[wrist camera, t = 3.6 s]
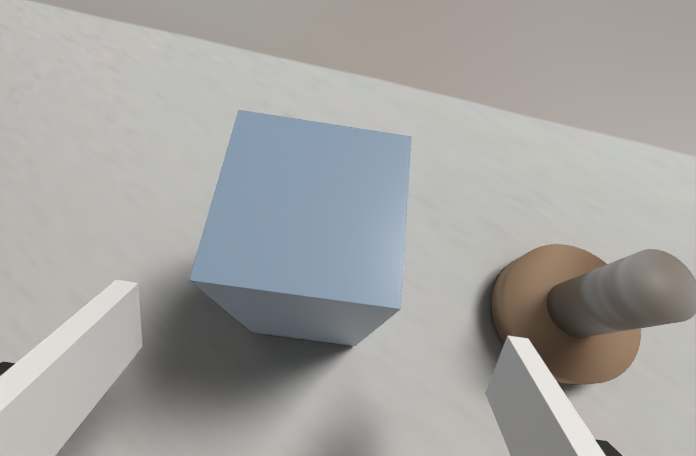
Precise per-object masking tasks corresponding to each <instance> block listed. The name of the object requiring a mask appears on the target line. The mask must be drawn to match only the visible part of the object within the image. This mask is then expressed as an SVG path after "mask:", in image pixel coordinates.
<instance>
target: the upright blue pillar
mask: <svg viewBox="0 0 696 456" xmlns="http://www.w3.org/2000/svg"><path fill="white" fill-rule="evenodd" d="M410 150H411V136H404V135H398V134H392V133H385V132H379V131H372V130H366V129H359V128H353V127H346V126H340V125H333V124H327V123H320V122H314V121H307V120H301V119H295V118H288V117H282V116H275V115H269V114H262V113H256V112H249V111H243V110H238V114H237V117H236V121H235V124H234V127H233V131H232V134H231V138H230V141H229V145H228V148H227V151H226V155H225V158H224V162H223V165H222V169H221V172H220V176H219V179H218V182H217V186H216V189H215V193H214V196H213V200H212V203H211V207H210V210H209V213H208V217H207V220H206V224H205V227H204V231H203V234H202V238H201V241H200V244H199V248H198V251H197V255H196V258H195V262H194V265H193V269H192V272H191V275H190V279H189V280H190V281H191V282H192V283H193V284H194V285H195V286H197V287H198V288H199V289H200V290H201V291H203V292H204V293H205V294H206V295H207V296H209V297H210V298H211V299H212V300H213V301H215V302H216V303H217V304H218V305H219V306H221V307H222V308H223V309H224V310H225V311H227V312H228V313H229V314H230V315H231V316H233V317H234V318H235V319H236V320H237V321H239V322H240V323H241V324H242V325H243V326H245V327H246V328H247V329H248V330H249V331H251V332H252V333H259V334H267V335H274V336H282V337H290V338H297V339H305V340H313V341H320V342H328V343H336V344H343V345H351V346H356V345H357V344H358V343H359V342H361V341H362V340H363V339H364V338H366V337H367V336H368V335H369V334H371V333H372V332H373V331H374V330H375V329H377V328H378V327H379V326H380V325H382V324H383V323H384V322H385V321H387V320H388V319H389V318H390V317H392V316H393V315H394V314H395V313H396V312H398V311H399V310H400V309H401V299H402V283H403V266H404V250H405V233H406V217H407V200H408V183H409V167H410Z"/></svg>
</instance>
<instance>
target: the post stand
mask: <svg viewBox="0 0 696 456" xmlns="http://www.w3.org/2000/svg"><path fill="white" fill-rule="evenodd" d="M491 308H492V316H493V321H494V325H495V328H496V330H497V333H498V335H499V337H500V339H501V341H502V343H503V344H504V343H505V341H506V338H507V336H514V337H521V338H528V339H529V340H530V342H531V343H532V345H533V346H534V348H535V349H536V351H537V352H538V354H539V356H540V357H541V359H542V360H543V362H544V363H545V365H546V366H547V368H548V369H549V371H550V372H551V374H552V375H553V377H554V378H555V380H556V381H557V383H567V384H594V383H602V382H606V381H610V380H612V379H614V378H616V377H618V376H619V375H621V374H622V373H623V372H624V371H625V370H626V369H627V368H628V367H629V366H630V365H631V363H632V362H633V361H634V359H635V357H636V354H637V352H638V349H639V345H640V339H641V328H645V327H651V326H657V325H664V324H670V323H676V322H682V321H686V320H688V319H690V318H691V317H693V316H694V315H695V313H696V280H695V278H694V276H693V275H692V273H691V272H690V270H689V269H688V268H687V267H686V266H685V265H684V264H683V263H682V262H681V261H680V260H678V259H677V258H676V257H674V256H672V255H671V254H669V253H666V252H664V251H661V250H655V249H647V250H643V251H640V252H638V253H635V254H633V255H630V256H628V257H625V258H623V259H620V260H617V261H615V262H612V263H610V264H606V263H605V262H604V261H602V260H601V259H600V258H598V257H596V256H595V255H593V254H591V253H589V252H587V251H585V250H583V249H580V248H577V247H574V246H569V245H561V244H553V245H546V246H541V247H538V248H536V249H534V250H532V251H530V252H528V253H526V254H525V255H523V256H521V257H520V258H518V259H516V260H515V261H513V262H512V263H510V264H509V265H508V266H507V267H506V268H505V269H504V270H503V271H502V272H501V274H500V275H499V276H498V278H497V280H496V282H495V285H494V288H493V293H492V301H491Z"/></svg>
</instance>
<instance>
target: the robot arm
mask: <svg viewBox="0 0 696 456" xmlns="http://www.w3.org/2000/svg"><path fill="white" fill-rule="evenodd" d="M142 347H143V345H142V330H141V315H140V299H139V284H138V283H135V282H128V281H121V280H115V281H114V282H113V283H112V284H110V285H109V286H108V287H107V288H106V289H104V290H103V291H102V292H101V293H100V294H98V295H97V296H96V297H95V298H94V299H92V300H91V301H90V302H89V303H88V304H86V305H85V306H84V307H83V308H82V309H80V310H79V311H78V312H77V313H76V314H74V315H73V316H72V317H71V318H70V319H68V320H67V321H66V322H65V323H64V324H62V325H61V326H60V327H59V328H58V329H56V330H55V331H54V332H53V333H52V334H50V335H49V336H48V337H47V338H46V339H44V340H43V341H42V342H41V343H40V344H38V345H37V346H36V347H35V348H34V349H32V350H31V351H30V352H29V353H28V354H26V355H25V356H24V357H23V358H22V359H20V360H19V361H18V362H17V363H9V362H1V363H0V456H55V455H56V454H57V453H58V452H59V450H60V449H61V448H62V447H63V445H64V444H65V443H66V442H67V440H68V439H69V438H70V437H71V435H72V434H73V433H74V432H75V430H76V429H77V428H78V427H79V425H80V424H81V423H82V422H83V420H84V419H85V418H86V417H87V415H88V414H89V413H90V412H91V410H92V409H93V408H94V407H95V405H96V404H97V403H98V402H99V400H100V399H101V398H102V397H103V395H104V394H105V393H106V392H107V390H108V389H109V388H110V387H111V385H112V384H113V383H114V382H115V380H116V379H117V378H118V377H119V375H120V374H121V373H122V372H123V370H124V369H125V368H126V367H127V366H128V364H129V363H130V362H131V361H132V359H133V358H134V357H135V356H136V354H137V353H138V352H139V351H140V349H141V348H142ZM485 394H486V396H487V399H488V401H489V403H490V406H491V408H492V411H493V413H494V416H495V418H496V421H497V423H498V425H499V428H500V430H501V433H502V435H503V438H504V440H505V443H506V445H507V448H508V450H509V452H510V455H511V456H622V455H621V454H620V453H619V452H618V451H617V450H616V449H615V448H614V447H613V446H612V445H610V444H609V443H608V442H607V441H603V440H595V439H594V437H593V436H592V434H591V433H590V431H589V430H588V428H587V427H586V425H585V424H584V422H583V421H582V419H581V418H580V416H579V415H578V413H577V412H576V410H575V409H574V407H573V405H572V404H571V402H570V401H569V399H568V398H567V396H566V395H565V393H564V392H563V390H562V389H561V387H560V386H559V384H558V383H557V381H556V380H555V378H554V377H553V375H552V374H551V372H550V371H549V369H548V368H547V366H546V365H545V363H544V362H543V360H542V359H541V357H540V356H539V354H538V352H537V351H536V349H535V348H534V346H533V345H532V343H531V342H530V340H529V339H528V338H521V337H514V336H507V338H506V341H505V343H504V346H503V349H502V351H501V354H500V356H499V359H498V362H497V364H496V367H495V370H494V372H493V375H492V377H491V380H490V383H489V385H488V388H487V391H486V393H485Z"/></svg>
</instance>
